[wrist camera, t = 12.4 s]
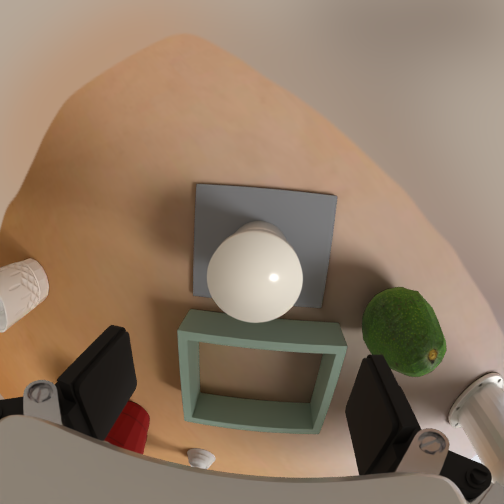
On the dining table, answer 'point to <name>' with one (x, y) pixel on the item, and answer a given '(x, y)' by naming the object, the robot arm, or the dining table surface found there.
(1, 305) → the white cup
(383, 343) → the avocado
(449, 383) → the dining table surface
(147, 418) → the plastic cup
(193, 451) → the chalice
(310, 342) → the green open box
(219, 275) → the white mushroom shaped cylinder
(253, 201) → the mat
